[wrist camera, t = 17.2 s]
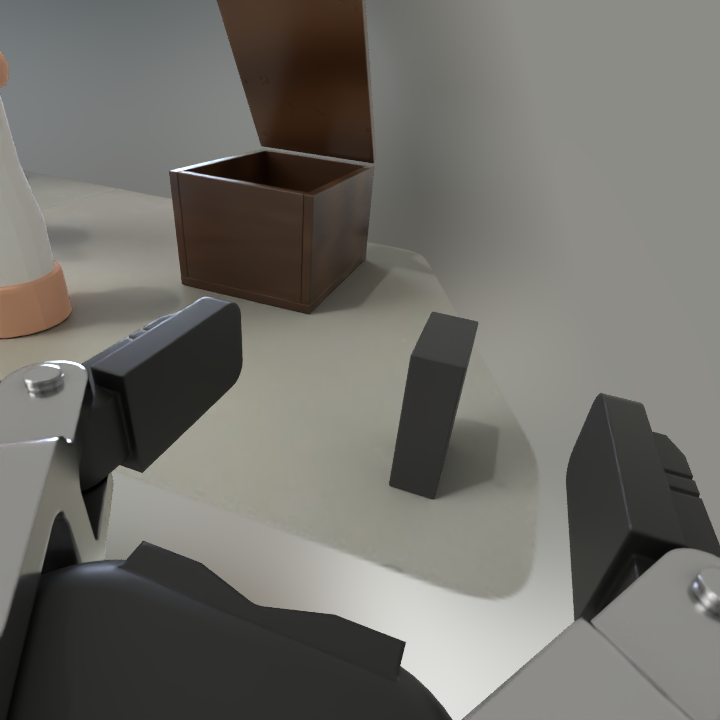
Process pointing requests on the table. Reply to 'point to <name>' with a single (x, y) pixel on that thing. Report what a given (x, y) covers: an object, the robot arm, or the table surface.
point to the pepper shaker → (24, 248)
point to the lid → (305, 73)
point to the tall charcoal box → (431, 402)
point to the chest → (271, 225)
